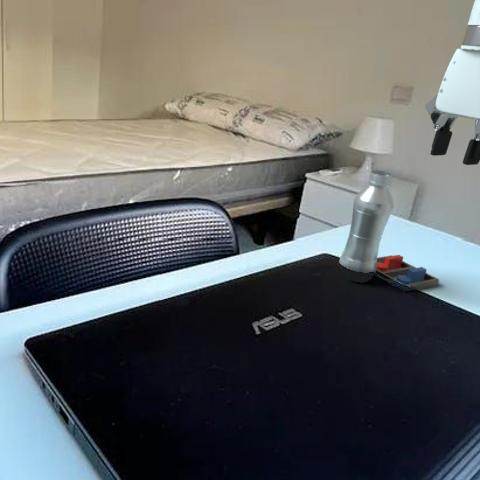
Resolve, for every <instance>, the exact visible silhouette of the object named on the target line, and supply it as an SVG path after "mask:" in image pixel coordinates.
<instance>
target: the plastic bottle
mask: <svg viewBox="0 0 480 480" xmlns="http://www.w3.org/2000/svg"><path fill="white" fill-rule="evenodd" d="M393 178H394V174H393V173H392V172H388V171H385V170H377V169H373V170H370V172H369V175H368V178H367V180H366V182H367V183H368V184H367V185H366V186H364V187H363V188H362V189H361V190H360V191H359V192H358V193H357V194H356V196H355V197H354V199H353V204H352V214H351V223H350V230H349V232H348V236H347V239H346V243H345V246H344V249H343V251H342V253H341V255H340V257H339V260H338V262H339V263H340V264H341V265H342V266H344V267H346V268H347V269H350V270H353V271H356V272H363V273H369V272H374V273H375V272H376V267H377V258H378V255H379V249H380V244H381V239H382V236H383V235H384V231H385V228H386V226H387V224H388V222H389V219H390V218H391V215H392V212H393V210H394V208H395V207H394V199H393V196H392V194H391V192H390V187H391V186H392V185H393V183H392V181H393Z"/></svg>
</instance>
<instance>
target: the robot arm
mask: <svg viewBox="0 0 480 480" xmlns="http://www.w3.org/2000/svg"><path fill="white" fill-rule="evenodd" d="M470 12H471V13H470V15H469V19H468V22H467V26H466V29H465V32H464V35H463V39H462V42H461V46H460V48H456V50H455V52H454V53H453V56H452V57H451V59H450V61H449V64H448V66H447V68H446V71H445V73H444V75H443V78H442V81H441V83H440V87H439V89H438V93H437V94H435V96H434V97H433V98H432V99H431V100H430V101H428V102H427V103H426V104H425V106H424V107H425V110H426V111H427V114H429V116H430V119H431V121H432V123H433V130H434V132H435V134H434V138H433V140H432V143H431V144H432V145H431V150H430V155H431V156H434V157H435V156H436V157H437V156H446V154H447V152H448V149H449V145H450V143H451V139H452V137H453V131H451V129H452V127H453V125H454V124H455V122H456V121H457V119H458V118H459V117H460V118H466V119H470V120H475V121H474V138H471V139H470V140H469V142H468V144H467V148H466V151H465V153H464V156H463V160H462V164H463V165H465V166H472V165H473V166H475V165H479V163H480V0H474V2H473V5H472V9H471V11H470Z"/></svg>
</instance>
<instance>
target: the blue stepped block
mask: <svg viewBox="0 0 480 480" xmlns="http://www.w3.org/2000/svg"><path fill="white" fill-rule="evenodd" d="M427 270H428V269H427V268H426V267H424V266H420V267H416V268H414V269H409V270H408V273H407V275H398V276H397V277H395V279H396V280H398V281H400V282H401V283H403V284H405V285H406V284H411V283H416V282H421V281H425V280H424V277H425V273H427Z"/></svg>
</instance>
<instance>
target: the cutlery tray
mask: <svg viewBox="0 0 480 480" xmlns="http://www.w3.org/2000/svg"><path fill="white" fill-rule="evenodd" d="M389 256H393V255H386V256H379V257H377V262H380V263H384V261H385V258H386V257H389ZM414 268H417V267H415V266H414V265H411V264H410V263H407V262H405V261H404V260H402V264H401V267H400V268H399V269H393V270H388V271H385V272H382V271H380V270H378V269H376V272H375V273H377V274H379V275H381V276H384V277H386V278H389V279H391V280H395V281H397V282H400V281H398V280H396V278H397V276H398V275H404V276H407V273H408V270H409V269H414ZM439 282H440V279H439V278H437V277H435V276H433V275H431V274H429V273H427V272H426V273H425V277H424V280H423V281H420V282H415V283H410V284H406V285H407V286H410V287H411V288H413V289H415V290H414V291H419V290H423V289H429V288H433V287H438V285H439ZM400 283H401V282H400ZM402 284H403V283H402ZM404 285H405V284H404Z"/></svg>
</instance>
